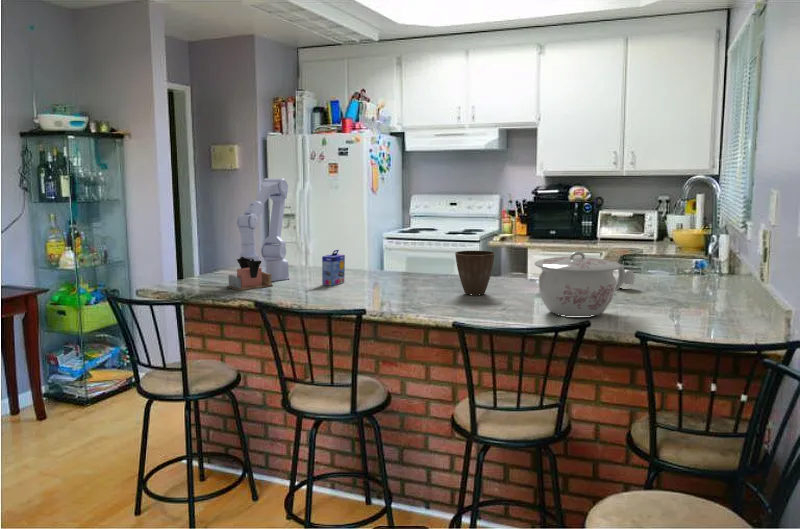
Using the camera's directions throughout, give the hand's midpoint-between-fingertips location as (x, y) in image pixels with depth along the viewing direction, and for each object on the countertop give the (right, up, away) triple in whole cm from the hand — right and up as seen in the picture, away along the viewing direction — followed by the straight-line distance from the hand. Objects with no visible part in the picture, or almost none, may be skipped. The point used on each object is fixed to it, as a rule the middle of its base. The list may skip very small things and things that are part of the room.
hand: (249, 276), depth 265 cm
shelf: (0, -4, +1) cm, 4 cm away
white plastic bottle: (+147, -5, -5) cm, 147 cm away
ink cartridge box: (+34, -3, +6) cm, 35 cm away
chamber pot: (+120, -12, -52) cm, 132 cm away
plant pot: (+90, -7, -18) cm, 92 cm away
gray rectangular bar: (-5, -5, -4) cm, 8 cm away
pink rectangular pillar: (0, -4, 0) cm, 4 cm away
